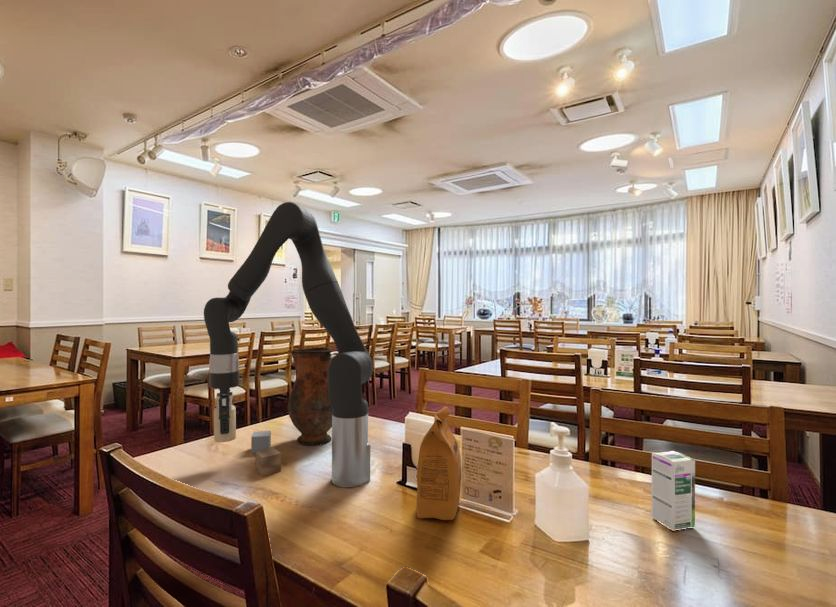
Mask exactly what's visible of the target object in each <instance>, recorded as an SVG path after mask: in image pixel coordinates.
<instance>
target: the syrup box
mask: <svg viewBox="0 0 836 607" xmlns="http://www.w3.org/2000/svg"><path fill="white" fill-rule="evenodd" d="M695 506H696V460H695V459H694V458H692V457H690V456H688V455H686V454H684V453H681V452H678V451H674V450H670V451H661V452H652V453H651V518H652V517H653V518H655V519H656V520H658V521H660V522H661V523H663V524H665V525H666V526H668V527H669V528H671V529H673V530H675V529H682V528H688V527H694V526H695V527H696V507H695Z"/></svg>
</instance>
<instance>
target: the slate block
mask: <svg viewBox="0 0 836 607" xmlns="http://www.w3.org/2000/svg"><path fill="white" fill-rule="evenodd" d="M250 440H251V441H250V442H251V444H250V445H251V451H250V452H251V454H256V452H258V451H262V450H267V449H271V446H272V430H258V431H253V433H252V435H251V438H250Z"/></svg>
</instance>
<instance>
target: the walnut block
mask: <svg viewBox="0 0 836 607" xmlns="http://www.w3.org/2000/svg"><path fill="white" fill-rule="evenodd" d="M255 470H256V471H257V473H258V474H259V473H260V474H259V475H260V476H261V477H265V476H267V475H272V474H276V473H280V472H282V452H280V451H279V450H277V449H276V448H275V447H272V448H271V447H270V449H267V450H262V451H258V452H256V453H255Z"/></svg>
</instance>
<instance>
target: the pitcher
mask: <svg viewBox="0 0 836 607" xmlns="http://www.w3.org/2000/svg"><path fill="white" fill-rule="evenodd" d="M331 352H332V349H331V348H330V347H329V348H328V347H312V348H311V347H310V348H303V349H292V350H290V354H291V355H292V360H293V364H294V369H295V380H294V383H293V386H292V389H291V392H290V394H289V396H288V397H289V399H288V403H287V411H288V417H289V419H290V420H291V422H292V425H293V426H294V427H295V428H296V429H297V431H299V433H300V435H299V436H298V437H297V438H296V442H297V443H299V444H300V445H303V444H305V445H304V446H321V445H320V444H322V445H326V444H328V443H330V441H331V442H332V435H331V436H330V434H328V433H329V431H330V430H332V408H331V405H330V402H329V392H328V368H329V364H330V362H331V360H332V356H336V355H338V354H339V353H338V352H334V353H331ZM327 442H328V443H327Z"/></svg>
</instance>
